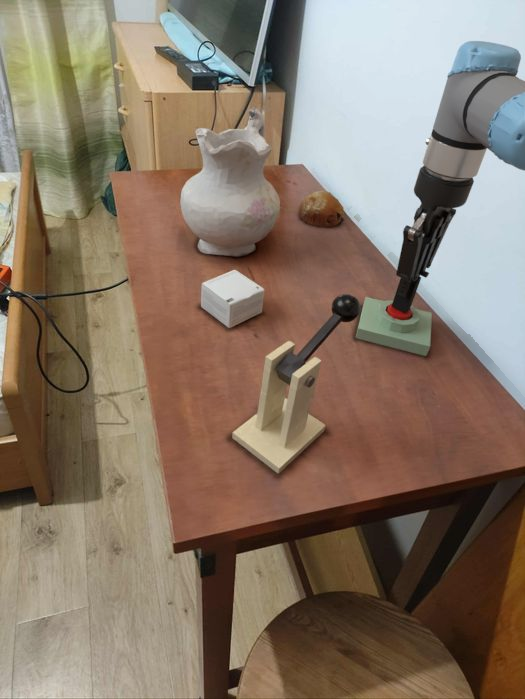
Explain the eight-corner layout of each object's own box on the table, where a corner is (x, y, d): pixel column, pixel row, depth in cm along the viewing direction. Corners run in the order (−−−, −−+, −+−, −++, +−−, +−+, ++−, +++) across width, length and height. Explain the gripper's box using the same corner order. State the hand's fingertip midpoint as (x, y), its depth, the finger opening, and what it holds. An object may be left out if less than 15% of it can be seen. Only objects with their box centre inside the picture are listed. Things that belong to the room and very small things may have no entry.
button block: (428, 322, 92) (435, 304, 89) (426, 356, 85) (434, 338, 82) (362, 306, 94) (367, 288, 91) (355, 338, 86) (360, 319, 84)
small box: (233, 292, 93) (235, 268, 90) (262, 313, 89) (266, 289, 86) (199, 306, 88) (200, 282, 85) (228, 329, 84) (230, 304, 81)
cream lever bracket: (279, 400, 73) (293, 325, 64) (324, 431, 70) (345, 356, 61) (231, 438, 67) (239, 360, 58) (278, 474, 64) (294, 397, 55)
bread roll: (317, 220, 126) (310, 188, 123) (354, 217, 120) (347, 182, 117) (296, 233, 120) (288, 200, 117) (333, 230, 114) (326, 195, 110)
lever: (342, 300, 67) (342, 283, 64) (365, 313, 66) (366, 296, 63) (274, 377, 63) (270, 362, 60) (297, 392, 61) (294, 378, 58)
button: (409, 314, 89) (412, 305, 87) (408, 327, 86) (411, 319, 84) (386, 308, 89) (389, 300, 88) (384, 321, 86) (387, 313, 85)
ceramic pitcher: (202, 215, 117) (195, 98, 101) (286, 224, 114) (293, 105, 98) (172, 263, 100) (158, 131, 84) (269, 275, 98) (274, 142, 82)
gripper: (443, 153, 76) (399, 284, 92) (401, 173, 68) (361, 313, 84) (491, 169, 73) (437, 303, 88) (453, 192, 65) (401, 334, 80)
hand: (400, 308), depth 86 cm, fingers closed
